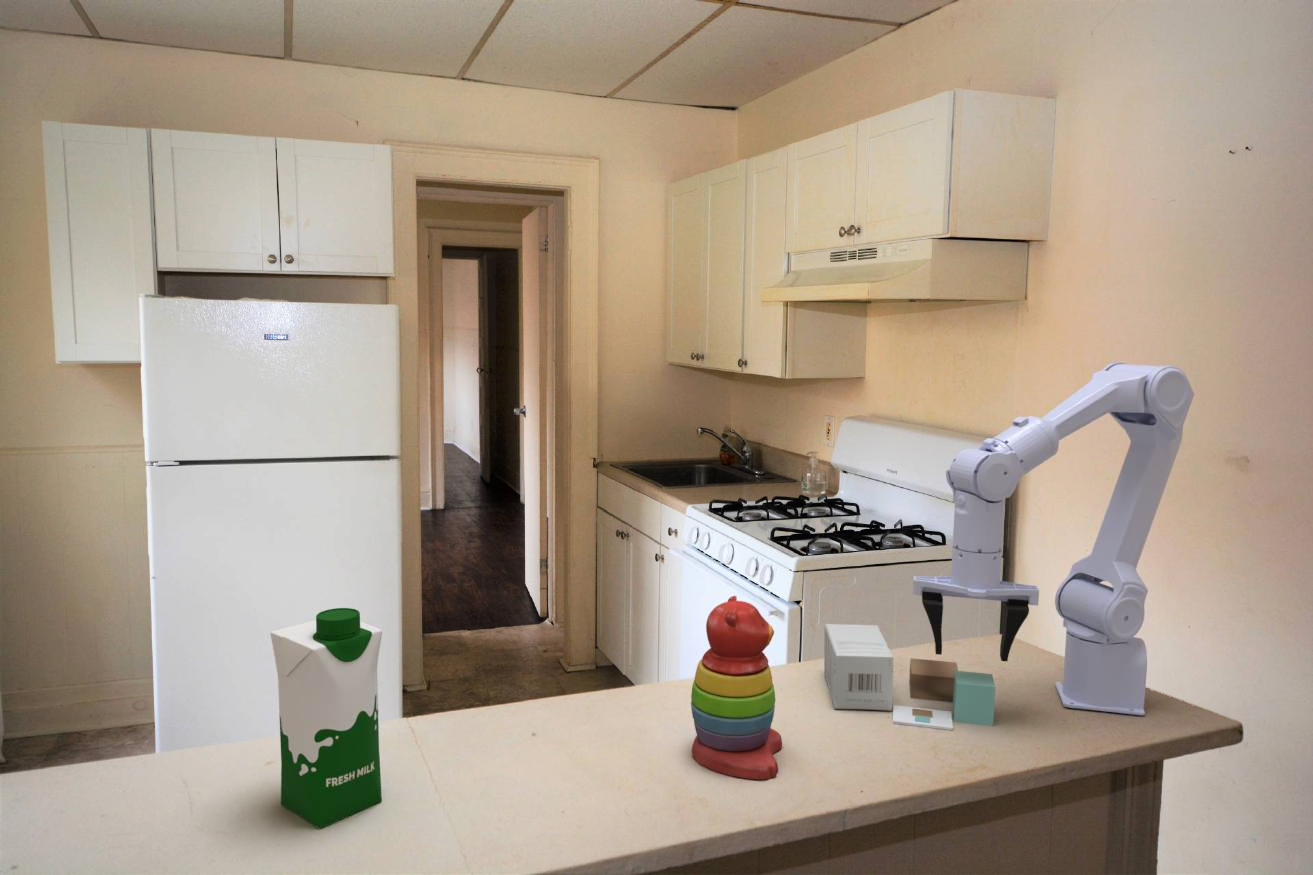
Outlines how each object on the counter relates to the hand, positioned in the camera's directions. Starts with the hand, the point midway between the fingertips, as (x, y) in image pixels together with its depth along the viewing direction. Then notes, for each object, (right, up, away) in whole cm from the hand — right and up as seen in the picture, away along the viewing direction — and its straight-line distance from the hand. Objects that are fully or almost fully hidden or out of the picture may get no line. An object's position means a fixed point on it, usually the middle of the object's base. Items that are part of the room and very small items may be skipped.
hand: (970, 655), depth 117 cm
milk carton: (-71, -10, -22) cm, 76 cm away
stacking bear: (-30, -9, -11) cm, 33 cm away
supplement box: (-13, -4, +1) cm, 14 cm away
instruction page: (-6, -8, 0) cm, 10 cm away
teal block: (+1, -8, +1) cm, 8 cm away
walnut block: (-2, -7, +9) cm, 11 cm away
